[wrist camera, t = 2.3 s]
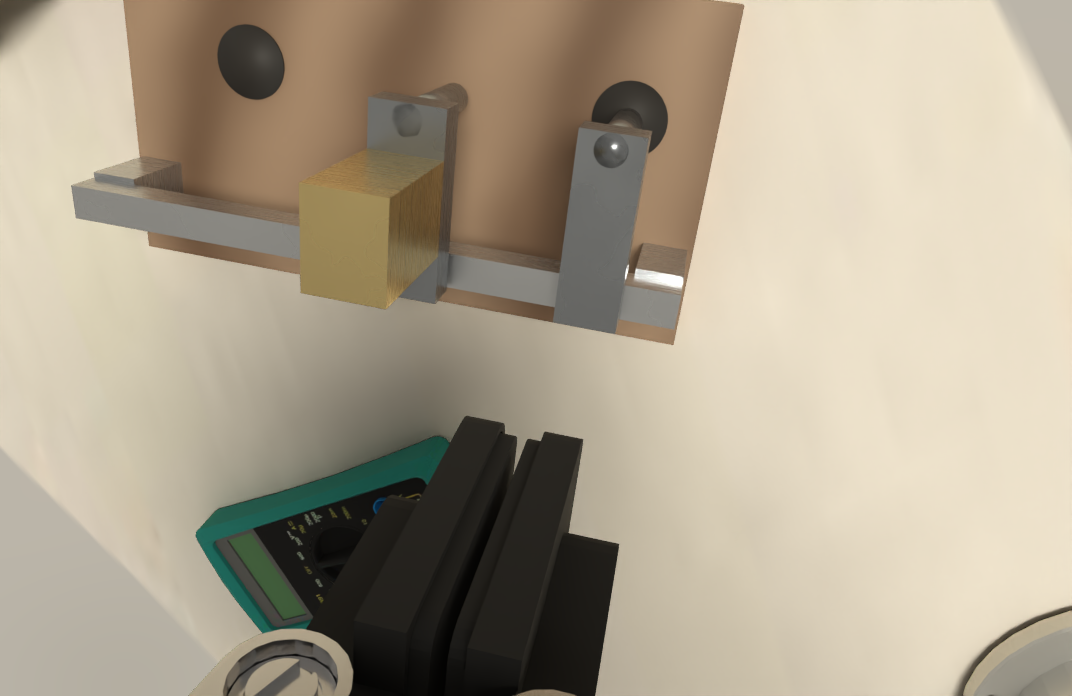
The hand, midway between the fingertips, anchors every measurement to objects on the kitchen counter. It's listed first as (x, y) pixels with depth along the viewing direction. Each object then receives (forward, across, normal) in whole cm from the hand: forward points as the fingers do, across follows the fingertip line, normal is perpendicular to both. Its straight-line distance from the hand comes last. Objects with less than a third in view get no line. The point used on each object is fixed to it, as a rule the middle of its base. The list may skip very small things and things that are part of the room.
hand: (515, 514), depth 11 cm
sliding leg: (+19, +7, 0) cm, 20 cm away
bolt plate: (+21, +8, 0) cm, 23 cm away
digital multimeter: (+22, +11, +20) cm, 31 cm away
